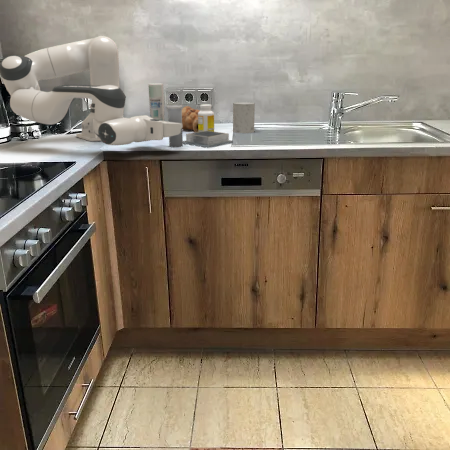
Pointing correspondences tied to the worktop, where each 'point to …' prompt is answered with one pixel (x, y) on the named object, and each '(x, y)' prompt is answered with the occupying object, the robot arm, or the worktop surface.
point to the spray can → (156, 101)
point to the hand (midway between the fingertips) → (172, 124)
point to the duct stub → (176, 117)
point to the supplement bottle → (205, 118)
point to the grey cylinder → (243, 117)
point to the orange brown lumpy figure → (190, 118)
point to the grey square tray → (207, 139)
